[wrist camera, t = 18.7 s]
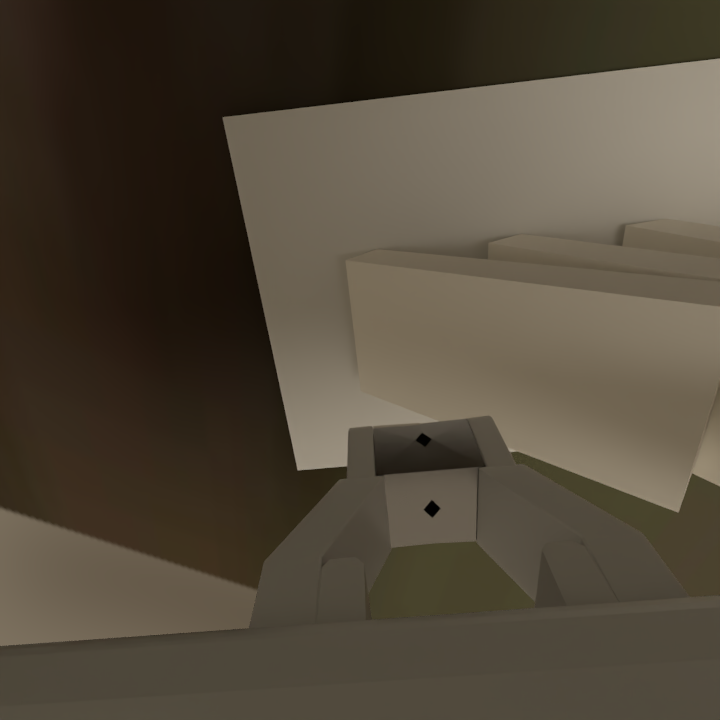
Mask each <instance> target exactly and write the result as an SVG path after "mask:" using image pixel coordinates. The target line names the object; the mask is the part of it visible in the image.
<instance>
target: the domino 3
mask: <svg viewBox="0 0 720 720" xmlns="http://www.w3.org/2000/svg"><path fill="white" fill-rule="evenodd" d="M622 246H623V247H631V248H639V249H647V250H655V251H663V252H671V253H679V254H688V255H696V256H704V257H712V258H720V226H714V225H707V224H700V223H693V222H686V221H679V220H672V219H660V220H654V221H648V222H642V223H637V224H631V225H626V227H625V233H624V239H623V245H622Z"/></svg>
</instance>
